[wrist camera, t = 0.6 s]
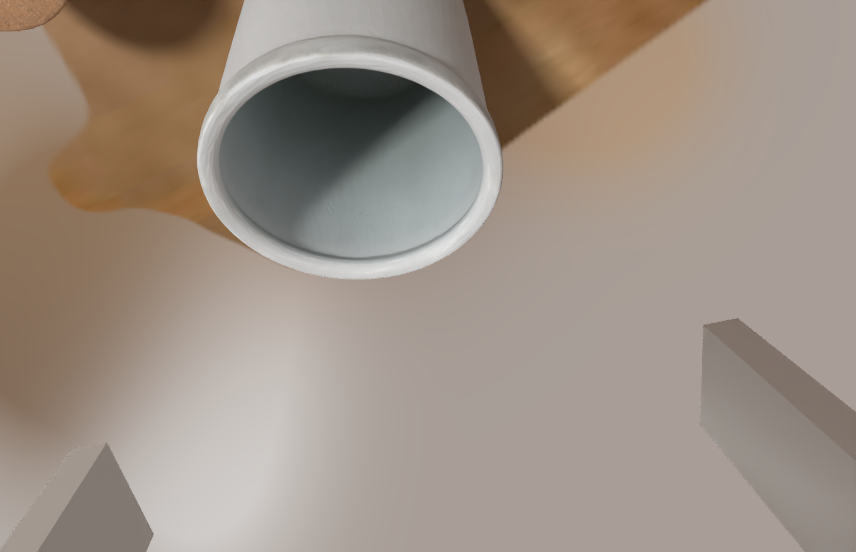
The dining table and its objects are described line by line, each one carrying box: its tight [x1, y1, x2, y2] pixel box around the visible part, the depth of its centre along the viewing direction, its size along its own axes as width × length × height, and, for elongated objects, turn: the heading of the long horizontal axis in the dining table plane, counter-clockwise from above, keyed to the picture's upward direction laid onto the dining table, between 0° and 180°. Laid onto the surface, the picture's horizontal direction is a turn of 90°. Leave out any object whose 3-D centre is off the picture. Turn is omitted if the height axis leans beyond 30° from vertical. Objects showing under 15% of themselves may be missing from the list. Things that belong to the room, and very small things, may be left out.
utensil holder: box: [197, 0, 503, 279], centre depth 33 cm, size 15×15×18 cm
